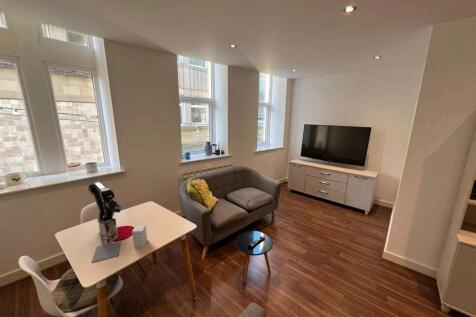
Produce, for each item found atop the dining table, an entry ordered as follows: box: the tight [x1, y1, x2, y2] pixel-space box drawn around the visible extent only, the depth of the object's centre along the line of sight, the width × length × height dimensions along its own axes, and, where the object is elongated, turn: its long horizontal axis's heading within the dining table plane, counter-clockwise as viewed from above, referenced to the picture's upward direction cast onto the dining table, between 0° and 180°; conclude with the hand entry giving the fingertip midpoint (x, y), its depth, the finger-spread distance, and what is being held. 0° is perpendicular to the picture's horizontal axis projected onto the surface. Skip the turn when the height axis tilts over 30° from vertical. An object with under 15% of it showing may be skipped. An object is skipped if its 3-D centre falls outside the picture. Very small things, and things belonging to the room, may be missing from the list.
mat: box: [91, 240, 122, 264], centre depth 136 cm, size 17×15×1 cm
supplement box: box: [131, 225, 148, 247], centre depth 144 cm, size 7×7×13 cm
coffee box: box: [98, 217, 119, 245], centre depth 146 cm, size 9×6×16 cm
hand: (110, 222), depth 155 cm, fingers closed
